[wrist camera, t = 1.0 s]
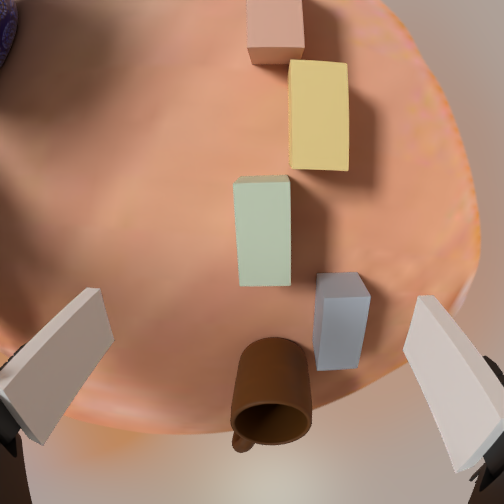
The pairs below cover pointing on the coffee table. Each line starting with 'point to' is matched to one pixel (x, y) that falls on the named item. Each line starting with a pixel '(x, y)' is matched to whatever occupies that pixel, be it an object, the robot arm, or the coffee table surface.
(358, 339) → the slate brick
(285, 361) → the mug
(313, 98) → the mustard brick
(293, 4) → the terracotta brick
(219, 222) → the coffee table surface
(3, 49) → the planter
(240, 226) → the sage brick
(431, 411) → the robot arm
